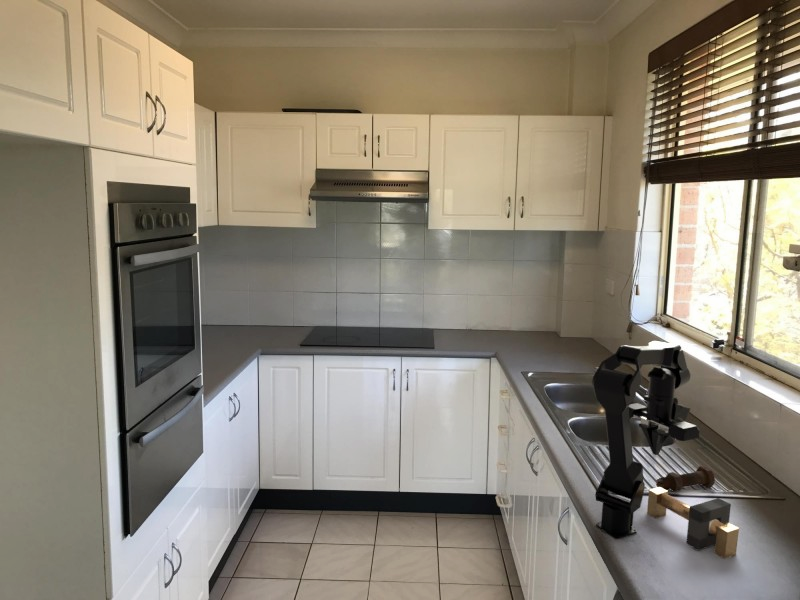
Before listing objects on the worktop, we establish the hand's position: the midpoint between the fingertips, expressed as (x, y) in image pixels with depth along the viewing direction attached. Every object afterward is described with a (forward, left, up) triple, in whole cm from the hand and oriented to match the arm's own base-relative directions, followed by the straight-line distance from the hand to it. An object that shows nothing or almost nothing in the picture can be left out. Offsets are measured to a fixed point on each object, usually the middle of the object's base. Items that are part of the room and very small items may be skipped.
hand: (655, 454), depth 149 cm
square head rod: (-4, -14, -12) cm, 19 cm away
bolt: (+14, +2, -13) cm, 19 cm away
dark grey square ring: (-4, -18, -12) cm, 23 cm away
